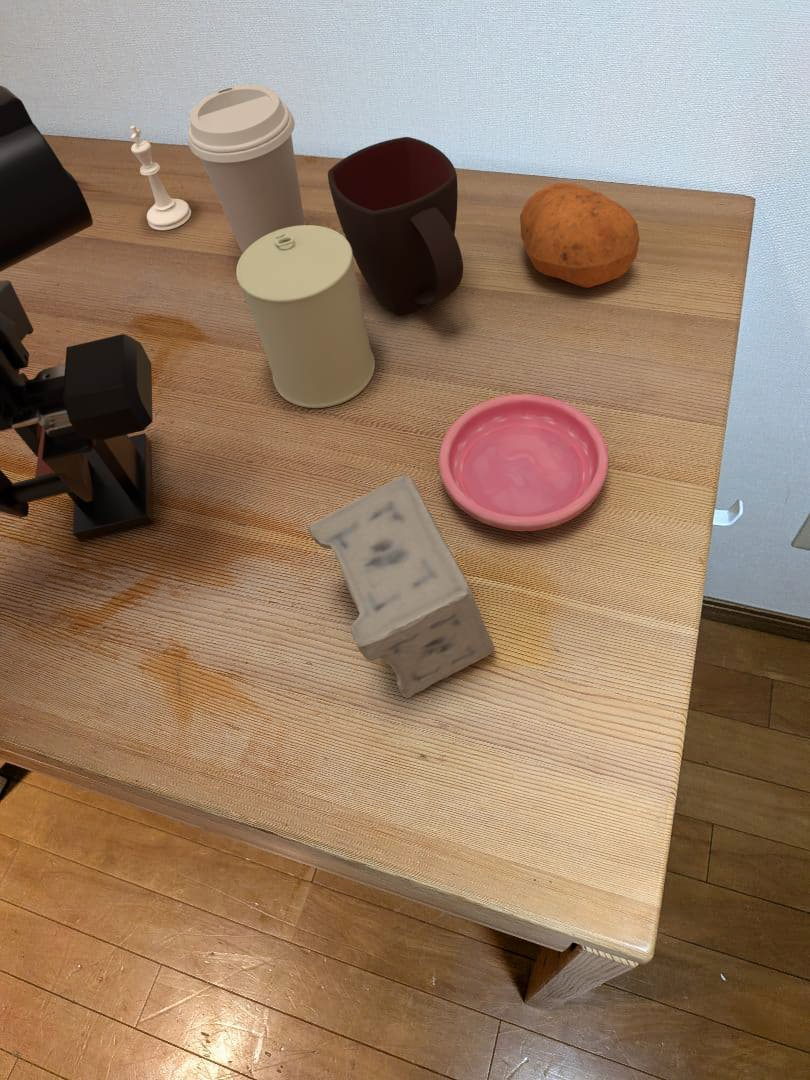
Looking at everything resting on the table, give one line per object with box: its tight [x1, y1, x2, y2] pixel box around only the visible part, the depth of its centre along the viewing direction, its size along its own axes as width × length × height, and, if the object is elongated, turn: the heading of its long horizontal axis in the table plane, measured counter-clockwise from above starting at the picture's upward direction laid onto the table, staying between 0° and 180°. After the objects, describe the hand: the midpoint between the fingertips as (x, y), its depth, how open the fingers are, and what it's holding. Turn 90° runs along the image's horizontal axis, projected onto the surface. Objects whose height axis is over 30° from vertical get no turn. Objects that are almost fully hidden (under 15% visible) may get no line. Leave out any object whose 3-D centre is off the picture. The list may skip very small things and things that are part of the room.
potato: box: [519, 182, 640, 288], centre depth 67 cm, size 9×11×8 cm
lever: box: [10, 426, 73, 504], centre depth 51 cm, size 10×4×2 cm, turn 12°
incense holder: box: [308, 474, 496, 699], centre depth 47 cm, size 10×8×10 cm
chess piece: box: [129, 125, 192, 231], centre depth 79 cm, size 5×5×10 cm
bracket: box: [13, 372, 154, 542], centre depth 57 cm, size 9×6×12 cm, turn 12°
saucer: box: [438, 393, 609, 532], centre depth 56 cm, size 12×12×3 cm
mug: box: [327, 136, 464, 316], centre depth 65 cm, size 10×14×12 cm
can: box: [235, 224, 376, 409], centre depth 61 cm, size 9×9×12 cm
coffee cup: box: [187, 84, 306, 254], centre depth 70 cm, size 10×10×15 cm
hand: (58, 503), depth 49 cm, fingers closed on lever, 4 cm apart
